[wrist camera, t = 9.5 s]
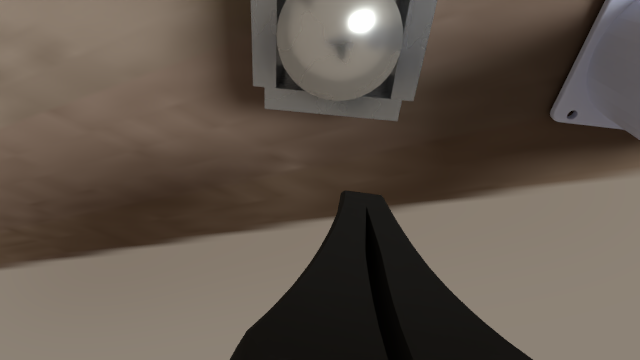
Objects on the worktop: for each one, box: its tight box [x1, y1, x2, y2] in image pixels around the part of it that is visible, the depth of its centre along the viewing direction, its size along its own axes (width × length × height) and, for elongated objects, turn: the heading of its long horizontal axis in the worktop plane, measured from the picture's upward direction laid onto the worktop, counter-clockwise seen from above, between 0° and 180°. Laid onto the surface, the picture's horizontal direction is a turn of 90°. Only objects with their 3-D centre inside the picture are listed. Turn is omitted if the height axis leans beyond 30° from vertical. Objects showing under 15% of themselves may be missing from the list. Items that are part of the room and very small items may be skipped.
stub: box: [277, 0, 403, 101], centre depth 15 cm, size 8×8×6 cm
